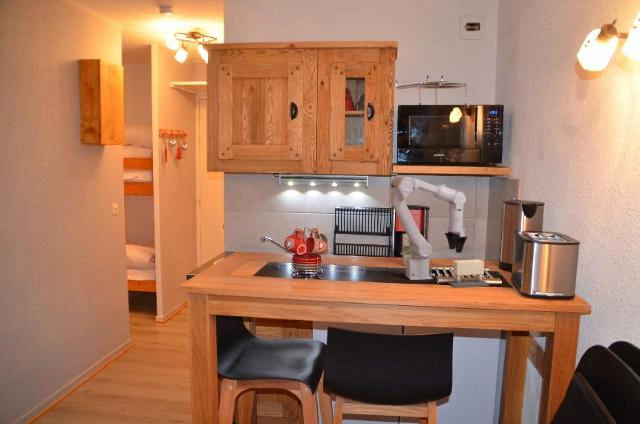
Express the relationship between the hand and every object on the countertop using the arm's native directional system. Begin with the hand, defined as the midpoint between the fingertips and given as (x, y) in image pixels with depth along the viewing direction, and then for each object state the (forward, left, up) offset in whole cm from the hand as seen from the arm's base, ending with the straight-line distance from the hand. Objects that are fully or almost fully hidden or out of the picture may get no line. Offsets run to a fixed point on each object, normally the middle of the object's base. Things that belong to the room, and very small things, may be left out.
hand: (455, 250), depth 211 cm
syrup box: (-14, +22, -11) cm, 28 cm away
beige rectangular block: (-1, -16, -6) cm, 17 cm away
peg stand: (-1, -16, -10) cm, 19 cm away
